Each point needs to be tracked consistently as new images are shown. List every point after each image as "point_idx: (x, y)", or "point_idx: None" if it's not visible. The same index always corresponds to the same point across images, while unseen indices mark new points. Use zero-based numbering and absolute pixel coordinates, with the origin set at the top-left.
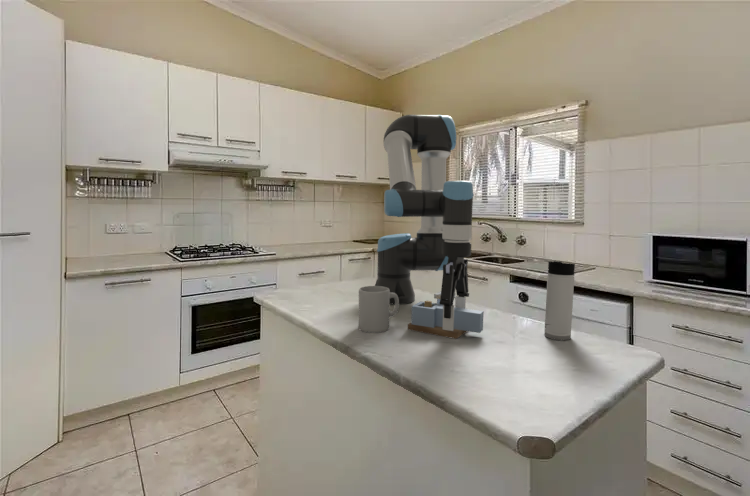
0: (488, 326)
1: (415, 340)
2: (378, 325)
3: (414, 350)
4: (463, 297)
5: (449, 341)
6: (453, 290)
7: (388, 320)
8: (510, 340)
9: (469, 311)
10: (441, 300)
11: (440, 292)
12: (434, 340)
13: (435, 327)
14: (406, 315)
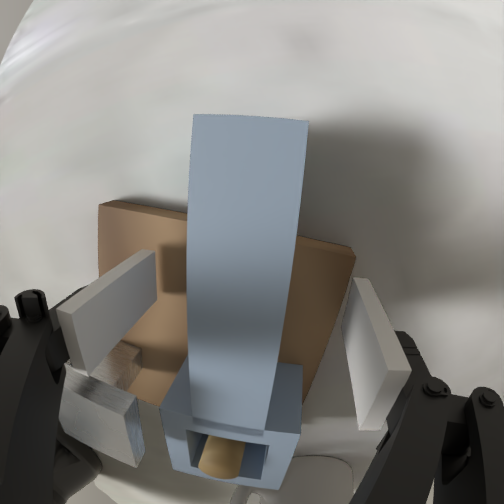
0: (95, 142)
1: None
2: (348, 479)
3: (487, 349)
4: (70, 325)
5: (391, 269)
6: (427, 494)
7: (312, 478)
8: (259, 10)
9: (265, 226)
10: (470, 450)
11: (83, 438)
12: (393, 326)
13: (294, 359)
14: (142, 430)
